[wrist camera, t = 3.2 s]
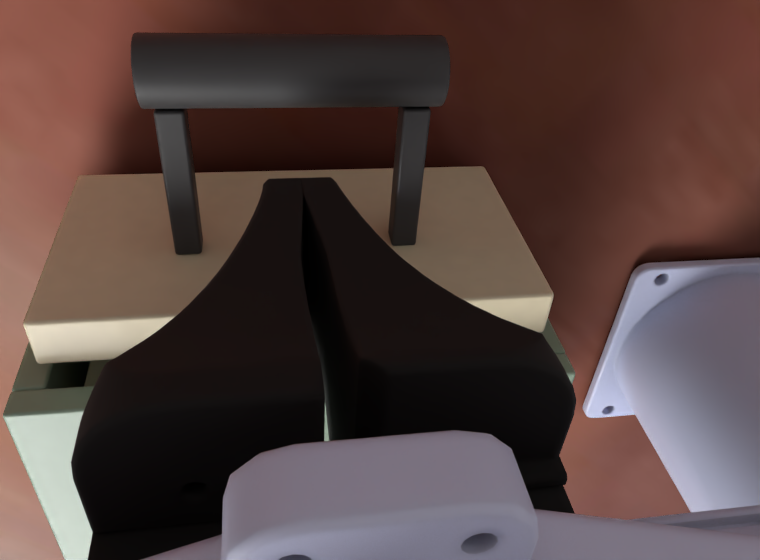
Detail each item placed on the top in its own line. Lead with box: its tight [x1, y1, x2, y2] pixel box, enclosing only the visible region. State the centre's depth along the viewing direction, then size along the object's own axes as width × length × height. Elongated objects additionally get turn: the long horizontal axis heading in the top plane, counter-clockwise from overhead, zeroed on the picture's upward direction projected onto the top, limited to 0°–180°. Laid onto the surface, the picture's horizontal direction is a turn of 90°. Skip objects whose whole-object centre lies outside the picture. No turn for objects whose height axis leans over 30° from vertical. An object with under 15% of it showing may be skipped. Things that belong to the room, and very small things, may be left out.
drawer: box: [23, 33, 554, 387], centre depth 19 cm, size 17×11×6 cm, turn 176°
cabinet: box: [3, 318, 575, 560], centre depth 22 cm, size 13×12×8 cm
